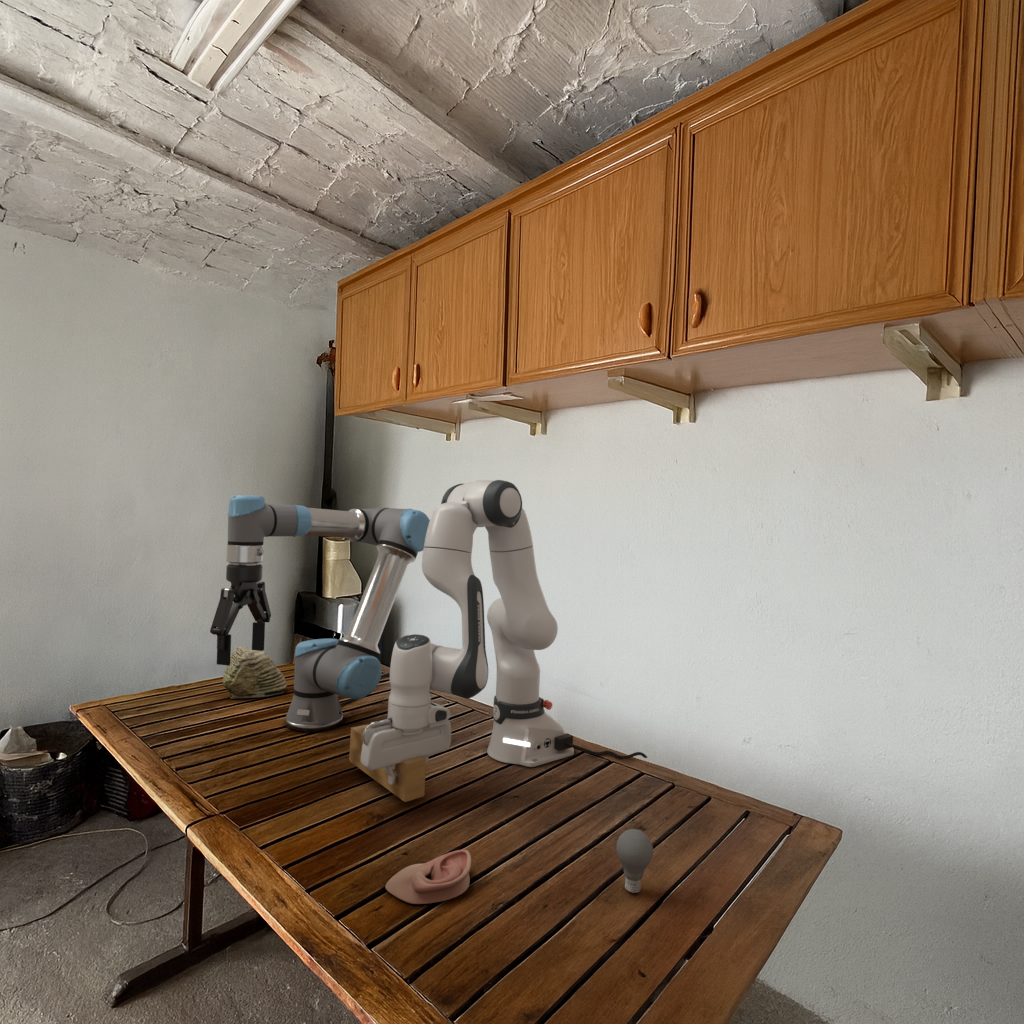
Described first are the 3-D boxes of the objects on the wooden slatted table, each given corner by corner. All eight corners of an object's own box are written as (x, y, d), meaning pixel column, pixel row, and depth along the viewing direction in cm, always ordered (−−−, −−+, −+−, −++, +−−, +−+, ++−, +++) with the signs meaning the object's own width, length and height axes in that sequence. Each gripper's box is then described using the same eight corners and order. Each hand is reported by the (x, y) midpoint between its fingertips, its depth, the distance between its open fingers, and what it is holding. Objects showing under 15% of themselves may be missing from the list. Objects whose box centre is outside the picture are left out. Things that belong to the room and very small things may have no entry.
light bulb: (610, 879, 108) (613, 822, 108) (644, 879, 109) (647, 822, 109) (619, 902, 102) (622, 840, 102) (655, 901, 103) (658, 840, 103)
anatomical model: (378, 873, 101) (404, 836, 112) (377, 898, 101) (403, 858, 112) (458, 887, 98) (477, 848, 109) (457, 912, 98) (476, 870, 109)
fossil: (218, 695, 195) (220, 647, 195) (278, 685, 208) (279, 640, 207) (228, 703, 189) (230, 653, 188) (289, 692, 201) (290, 645, 201)
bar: (349, 761, 147) (350, 727, 147) (367, 756, 150) (368, 723, 150) (404, 802, 129) (406, 764, 128) (424, 796, 132) (426, 759, 132)
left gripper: (227, 570, 130) (223, 672, 130) (288, 559, 155) (284, 646, 155) (193, 568, 131) (190, 669, 132) (259, 557, 156) (256, 643, 156)
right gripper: (372, 728, 123) (368, 799, 124) (456, 710, 137) (453, 773, 137) (356, 719, 128) (353, 786, 128) (440, 702, 142) (437, 763, 142)
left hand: (241, 657), depth 143 cm, fingers open, 13 cm apart
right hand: (405, 779), depth 133 cm, fingers closed on bar, 5 cm apart
